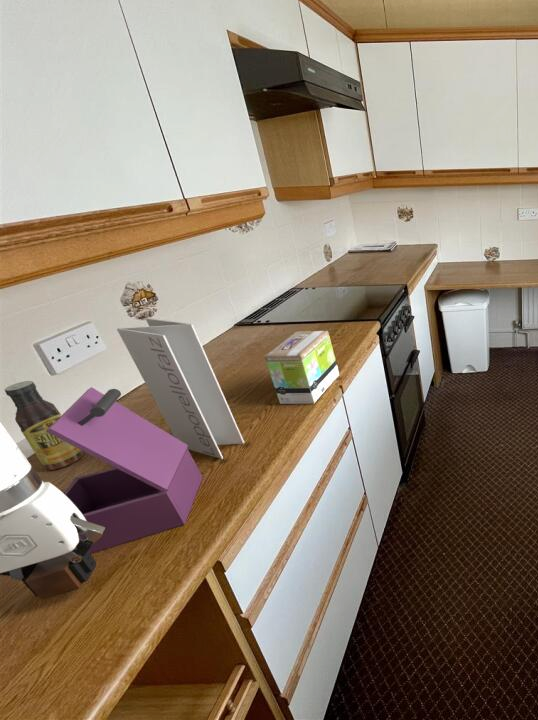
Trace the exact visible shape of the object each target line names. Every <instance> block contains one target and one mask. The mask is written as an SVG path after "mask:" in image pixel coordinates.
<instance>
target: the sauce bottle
mask: <svg viewBox="0 0 538 720" xmlns="http://www.w3.org/2000/svg"><path fill="white" fill-rule="evenodd" d="M4 392H5V394H6V396H8V397H10V399H11V401H12V402H13V404H14V406H15V407H16V412H15V418H14V419H15V422H16V424H17V426H18V428H19V430H20V431H21V433H22V435H23V436H24V438H25V440H26V441H27V443H28V444H29V446H30V448H31V449H32V450H33V452H34V453H35V455H36V457H37V458H38V460H39V461H40V464H42V465H43V466H44V468H45V469H46V470H49V471H54V470H58V469H62V468H66V467H68V466H70V465H72V464H74V463H75V462H76V461H78V460H79V459H81V458H82V457H83V451H82V450H80V449H78V448H77V447H75V446H73V445H71V444H69V443H67V442H65V441H63V440H61V439H59V438H57V437H55V436H53V435H51V434H49V433H47V432H46V430H48V429H49V428H50V427H51V426H52V425H53V424H54V423H55V422H56V421H57V420H58V419H59V418H60V417H61V416H62V415H63V414H61V412H60V411H59V409H58V408H57V406H56V405H55V404H54V403H52V402H50V401H48V400H45V399H43V396H41V394H40V393H39V391H38V390H37V385H36V384H35V382H34V381H33V380H25V381H20V382H16V383H14V384H11V385H9V386H7V387H5V388H4Z"/></svg>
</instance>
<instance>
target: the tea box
mask: <svg viewBox="0 0 538 720" xmlns="http://www.w3.org/2000/svg"><path fill="white" fill-rule="evenodd" d="M264 359H265V363H266V366H267V368H268V372H269V374H270V377H271V381H272V384H273V387H274V390H275V393H276V396H277V398H278V402H279V404H280V405H308V404H310V405H312V404H313V405H314V404H316V402H317V400H319V399H320V398H321V396H322V395H323V394H324V393H325V392H326V391H327V390H328V388H329V387H330V386H331V385H332V383H334V382H335V381H336V380H337V378H338V377H339V376H340V371H339V367H338V363H337V359H336V356H335V351H334V348H333V345H332V341H331V336H330V334H329V331H328V330H313V331H312V330H305V331H304V330H303V331H302V330H301V331H294V332H293V333H292V334H291V335H289V336H288V337H287V338H286V339H284V340H283V341H282V342H280V343H279V344H278V345H276V346H274V347H273V348H272V349H271V350H270V351H269V352H267V353H266V354H264Z"/></svg>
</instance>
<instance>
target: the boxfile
mask: <svg viewBox="0 0 538 720" xmlns="http://www.w3.org/2000/svg"><path fill="white" fill-rule="evenodd" d="M202 481H203V476H202V474H201V472H200V470H199V468H198V466H197V464H196V462H195V460H194V458H193V456H192V454H191V452H190V450H189V449H186V451H185V453H184V455H183V457H182V460H181V462H180V464H179V466H178V468H177V470H176V472H175V474H174V476H173V478H172V481H171V483H170V485H169V487H168V489H167V490H166V491H165V492H162V491H160V490H158V489H156V488H154V487H152V486H150V485H148V484H146V483H144V482H142V481H140V480H138V479H137V478H135V477H133V476H131V475H129V474H127V473H125V472H123V471H121V470H119V469H117V468H115V467H111V468H107V469H103V470H99V471H96V472H92V473H88V474H84V475H80V476H77V477H74V478H73V480H72V481H71V483H70V484H69V485H68V486H67V487H66V489H65V490H64V492H62V493H63V494H65V495H66V496H67V497H68V498H69V499H70V500H71V501H72V503H73V504H74V505H75V506H76V507H77V508H78V509H79V511H80V512H81V513H82V515H83V516H84V517H85V519H86V521H88V522H91V523H94V524H97V525H100V526H104V527H106V530H105V532H104V534H103V535H102V537H101V538H100V539H98V540H97V541H96V542H95V543H94V544H93V545H92V546H91V547H90V549H89V550H88V551H89V553H90V554H91V555H92V554H94V553H98V552H101V551H104V550H106V549H110V548H114V547H116V546H120V545H123V544H125V543H130V542H133V541H136V540H139V539H143V538H146V537H149V536H152V535H156V534H159V533H162V532H165V531H168V530H172V529H174V528H178V527H182V526H184V525H186V522H187V520H188V518H189V515H190V512H191V510H192V506H193V504H194V501H195V499H196V497H197V494H198V492H199V488H200V486H201V483H202ZM78 535H79V536H81V537H82V538H83V539H85V537H86V536H85V535H82V534H78Z"/></svg>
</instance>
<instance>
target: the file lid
mask: <svg viewBox="0 0 538 720" xmlns="http://www.w3.org/2000/svg"><path fill="white" fill-rule="evenodd" d="M121 396H122V393H121V391H120V390H119V389H117V388H111V389H108V390H107V391H106V392H105V393H102V392H101V391H99V390H97V389H95V388H94V387H92V386H91V387H90V388H88V389H87V390H86V391H85V392H83V394H82V395H81V396H80V397H79V398H78V399H76V401H74V402H73V404H72V405H71V406H70V407H69V408H67V410H66V411H64V413H62V414H61V415H62V416H61V417H60V418H59V419H58V420H57V421H56V422H55V423H54V424H53V425H52V426H51V427H50V428H49V429H48V430H46V432H47V433H49V434H51V435H53V436H55V437H57V438H59V439H61V440H63V441H65V442H67V443H69V444H71V445H73V446H75V447H77V448H78V449H80V450H81V451H82V452H85V453H87V454H88V455H90V456H92V457H94V458H96V459H98V460H100V461H101V462H104V463H106V464H108V465H109V466H111V467H112V468H114V467H115V468H117V469H119V470H121V471H123V472H125V473H127V474H129V475H131V476H133V477H135V478H137V479H138V480H140V481H142V482H144V483H146V484H148V485H150V486H152V487H154V488H156V489H158V490H160V491H162V492H165V491H166V490H167V489H168V487H169V485H170V483H171V481H172V478H173V476H174V474H175V472H176V470H177V468H178V466H179V464H180V462H181V460H182V457H183V455H184V453H185V451H186V449H187V447H188V445H187V444H185V443H183V442H182V441H180V440H178V439H177V438H175V437H174V436H173V434H170V433H168V432H167V431H165V430H164V429H162V428H160V427H159V426H157V425H156V424H154V423H152V422H150V421H149V420H147V419H145V418H144V417H141V415H139V414H137V413H135V412H134V411H132V410H130V409H129V408H127V407H125V406H124V405H122V404H120V403H119V402H117V401H118V400H119V398H120V397H121Z"/></svg>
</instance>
